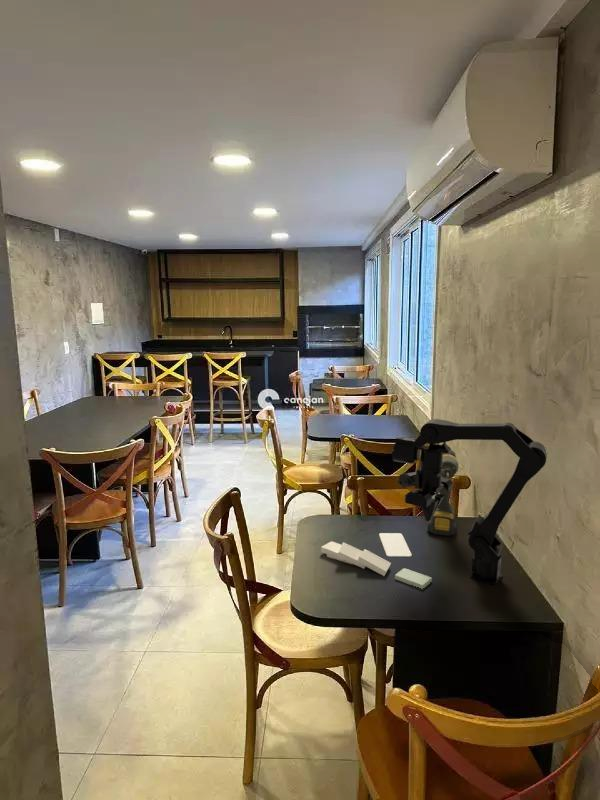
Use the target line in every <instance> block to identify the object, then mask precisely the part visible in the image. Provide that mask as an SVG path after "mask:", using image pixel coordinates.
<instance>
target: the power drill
mask: <svg viewBox="0 0 600 800" xmlns="http://www.w3.org/2000/svg"><path fill="white" fill-rule="evenodd" d="M457 458H458V457H457V455H456V453H455V452H454V450H452V449H451V450H450V452H449V453H443V461H442V469H443V470H445V472H444V474H442V478H447V479H451V480H452V478H453V477H454V476H455V475H456V474H457V472H458V471H459V461H458V459H457ZM438 492H440V494H441V495H444V498H443V499H442V501H441V503H440V504H439V506H438V508H437V510H436V511H435V513H434V515H433V517H432V519H431V520H430V521H427V532H429V533H430V534H433V535H440V536H446V537H448V536H449V537H450V536H454V535H456V532H457V531H456V530H457V523H456V515H455V508H454V506H453V505H452V504H451V503H450V499H451V498H450V497H451V494H450V492H451V491H447V490H446V488H442V489H441V490H439V491H438Z"/></svg>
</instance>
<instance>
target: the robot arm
mask: <svg viewBox="0 0 600 800" xmlns="http://www.w3.org/2000/svg"><path fill="white" fill-rule="evenodd" d="M394 440H395V442H394V445H393V448H392V449H393V450H392V452H391V457H392V461H393V462H397V463H405V464H411V465H415V463H416V462H419V461H420V463H419V465H420V468H418V469H417V470H416V471H414V472H405V473H400V474H399V475H398V478H397V480H398V481H397V484H398V485H399V486H400V487H401V489H405V488H407V487H408V488H409V487H414V489H412V490H410V491H409V492H407V493H406V494H404V502H405V504H409V505H412V506H416V507H420V508H421V509H422V512H423V515H424V519H425V521H426V522H428V521H430V520H431V519H432V517H433V515H434V513H435V511H436V510H437V508H438V506H439V504H440V503H441V501H442V499H443V498H444V495H441V494H440V492H438V491H439V490H441V489H442V488H446V490H447V491H450V492H451V491H452V490H454V482H453V480H452V478H451V479H447V478H442V474H444V472H445V470H443V469H442V461H443V453H449V452H450V450H452V448H451V447H450V446H449V445H448V444H447V443H448V442H451V441H456V440H462V441H464V440H466V441H467V440H469V441H470V440H473V441H474V440H475V441H476V440H477V441H479V440H480V441H503V442H504V443H505V444H506V445H507V446H508V447H509V448H510V449H511V451H512V452H513V453H514V454H515V455H516V456H517V457H518V461H517V465H516V467H515V470H514V471H513V473H512V475H510V478H509V479H508V481H507V482H506V484H505V486H504V488H503V489H502V490H501V492H500V494H499V495H498V496H497V499H496V500H495V501H494V503H493V505H492V506H491V508H490V509H489V511H488V513H486V514H485V516H482V515H481V514H478V515H477V518H476V520H475V522H474V523H473V524H471V526H470V529H469V531H468V533H467V535H468V536H469V537H468V540H467V541H468V545H469V548H470V549H472V550H473V552H474V556H472V558H471V574H470V577H471V578H472V579H475V580H479V581H482V582H485V583H487V584H491V585H497V583H498V581H500V580H501V578H502V577H503V573H502V572H501V569H502V559H503V556H502V555H500V554H501V549H502V546H503V543H502V542H501V541H500V540H499V538H498V537H497V536H496V535H497V532H498V530H499V527H500V524H501V523H502V521H503V520H504V518H505V517H506V516H507V514H508V512H509V510H510V509H511V508H512V506H513V505H514V503H515V501H516V499H517V498H518V497H519V495H520V494H521V492H522V490H523V489H524V488H525V485H526V484H527V483H528V482H529V481H530V480H531V479H532V478H534V477H535V476H536V475H537V473H539V472H540V471H541V469H543V468H544V467H545V465H546V463H547V459H548V458H547V457H548V452H547V453H546V450H547V448H546V446H545V445H544V444H542V443H541V442H540V441H539V442H538V441H534V440H533V439H532V438H531V437H530V436H528V435H527V434H525V433H524V431H523V432H522V431H521V430H520V429H518V428H517V427H516V426H515V424H513V423H511V422H503V423H457V422H453V421H449V420H446V419H445V420H444V419H439V418H432V419H429V420H428V421H427V422H426V423H424V424H423V425H422V426H421V428H420V431H419V435H418V436H416V438H414V439H412V438H406V437H403V436H397V437H396V438H395V439H394ZM427 444H428V445H427ZM544 446H545V447H544ZM545 448H546V449H545ZM419 489H420V490H419Z"/></svg>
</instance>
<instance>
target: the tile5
mask: <svg viewBox="0 0 600 800" xmlns="http://www.w3.org/2000/svg"><path fill="white" fill-rule="evenodd" d="M326 557H327V558H330V559H333V560H337V561H340V562H343V563H347V564H350V565H353V564H352V563H350V562H348V561H346V560H344V561H343V560H340V559H338V558H335V557H332V556H330V555H327V554H326Z"/></svg>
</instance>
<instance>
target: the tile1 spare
mask: <svg viewBox="0 0 600 800" xmlns="http://www.w3.org/2000/svg"><path fill="white" fill-rule="evenodd" d="M394 580H397V581H398V582H399V581H400V582H402V583H404V584H407V585H410V586H412V585H413V587H415V586H416V587H415V588H417V587H419V588H418V589H420V588H421V589H420V590H424V589H425V588H427V586H428V585H429V584H431V583H432V580H433V578H432V577H430V576H429V575H426V574H422V573H420V572H417V571H414V570H411V569H408V568H404V567H403V568H402V569H400V571H398V572H397V573H396V574H395V575H394ZM430 582H431V583H430ZM423 588H424V589H423Z"/></svg>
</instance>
